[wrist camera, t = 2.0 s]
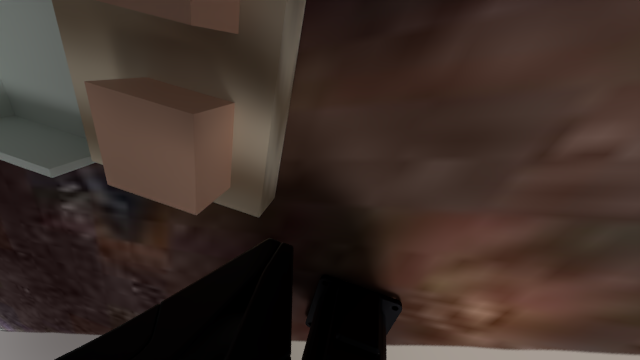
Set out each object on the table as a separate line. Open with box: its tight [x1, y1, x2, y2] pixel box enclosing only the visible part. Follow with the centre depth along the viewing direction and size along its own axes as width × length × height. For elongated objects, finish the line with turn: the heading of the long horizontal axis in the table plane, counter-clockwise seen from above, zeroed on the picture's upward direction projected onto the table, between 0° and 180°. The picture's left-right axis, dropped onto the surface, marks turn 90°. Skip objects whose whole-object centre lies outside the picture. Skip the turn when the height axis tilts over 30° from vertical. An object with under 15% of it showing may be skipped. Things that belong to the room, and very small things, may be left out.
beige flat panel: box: [52, 0, 306, 218], centre depth 13 cm, size 16×12×2 cm
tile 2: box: [84, 77, 235, 215], centre depth 12 cm, size 5×5×3 cm
